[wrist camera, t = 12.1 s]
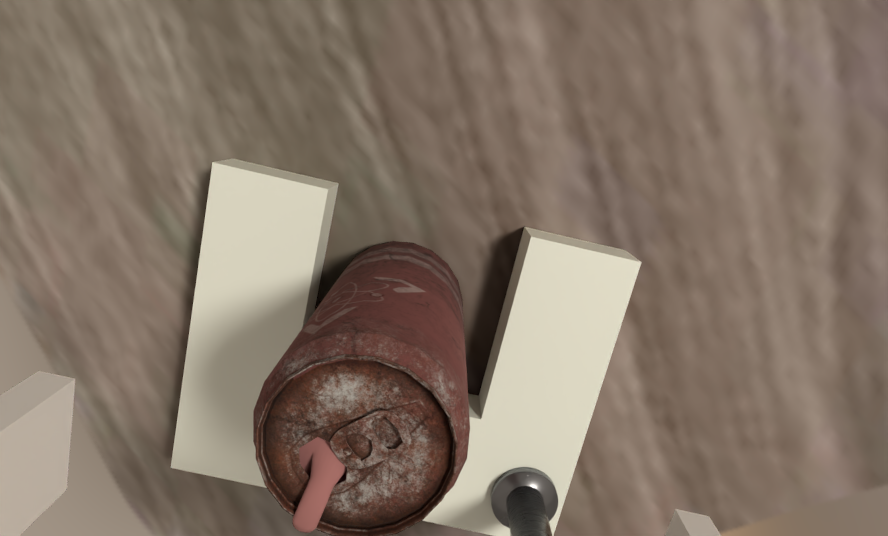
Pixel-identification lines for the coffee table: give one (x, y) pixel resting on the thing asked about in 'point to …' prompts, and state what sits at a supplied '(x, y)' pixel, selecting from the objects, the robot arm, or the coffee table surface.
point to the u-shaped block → (293, 302)
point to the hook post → (525, 501)
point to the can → (370, 399)
